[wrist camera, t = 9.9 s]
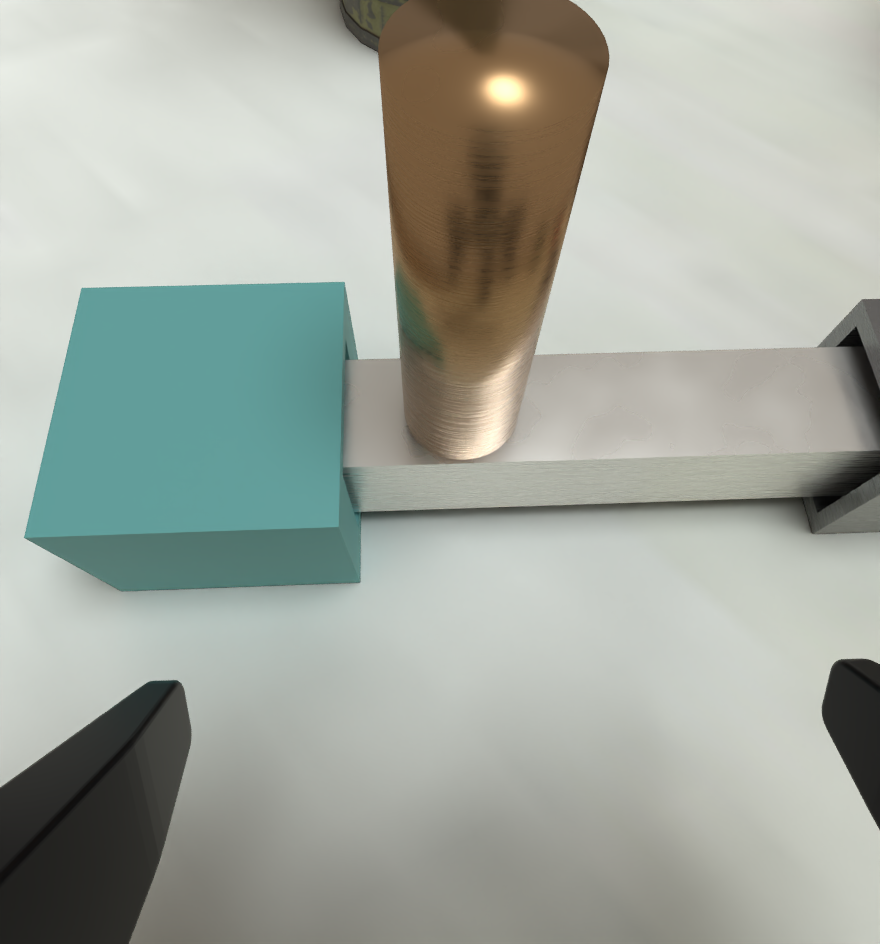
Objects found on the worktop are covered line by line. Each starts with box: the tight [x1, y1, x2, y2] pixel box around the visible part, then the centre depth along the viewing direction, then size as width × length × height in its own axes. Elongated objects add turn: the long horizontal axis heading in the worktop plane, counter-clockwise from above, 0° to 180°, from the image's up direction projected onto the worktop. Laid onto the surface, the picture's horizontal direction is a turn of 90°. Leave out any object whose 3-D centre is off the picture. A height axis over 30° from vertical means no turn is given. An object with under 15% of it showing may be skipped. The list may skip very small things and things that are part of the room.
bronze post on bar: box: [343, 0, 880, 512], centre depth 14 cm, size 22×3×13 cm, turn 92°
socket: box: [24, 282, 361, 591], centre depth 18 cm, size 7×7×5 cm
